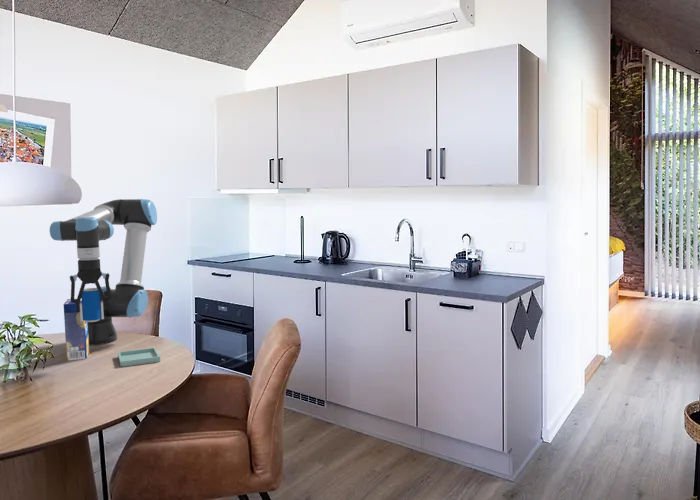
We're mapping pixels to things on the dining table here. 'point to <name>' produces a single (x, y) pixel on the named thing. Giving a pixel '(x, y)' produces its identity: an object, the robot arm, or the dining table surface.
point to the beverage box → (75, 332)
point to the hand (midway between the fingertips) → (92, 319)
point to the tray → (138, 357)
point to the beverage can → (91, 305)
